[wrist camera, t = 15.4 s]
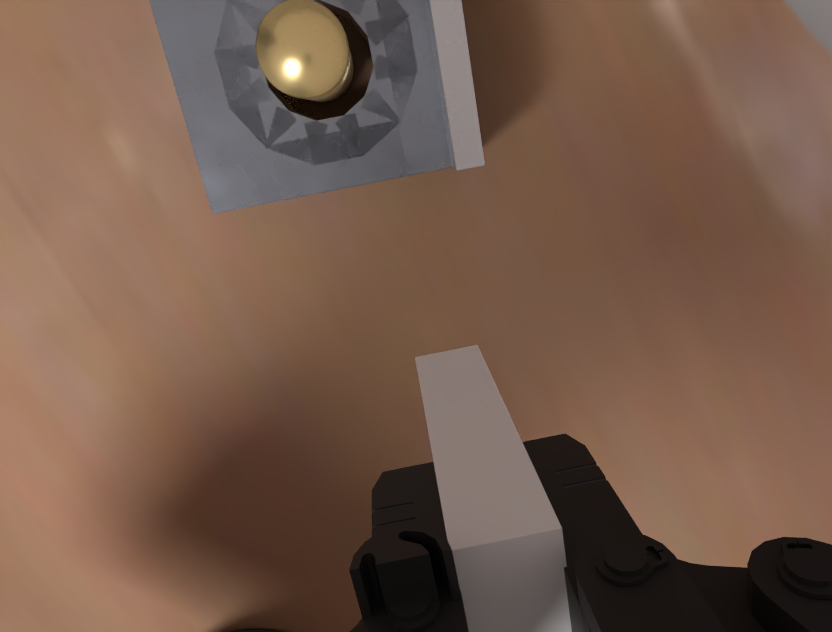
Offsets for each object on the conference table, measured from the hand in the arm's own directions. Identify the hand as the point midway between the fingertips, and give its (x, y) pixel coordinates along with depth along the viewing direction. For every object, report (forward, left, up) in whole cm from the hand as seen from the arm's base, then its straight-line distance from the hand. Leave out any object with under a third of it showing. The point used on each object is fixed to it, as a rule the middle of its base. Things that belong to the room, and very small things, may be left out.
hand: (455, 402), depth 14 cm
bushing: (-3, +10, -26) cm, 28 cm away
